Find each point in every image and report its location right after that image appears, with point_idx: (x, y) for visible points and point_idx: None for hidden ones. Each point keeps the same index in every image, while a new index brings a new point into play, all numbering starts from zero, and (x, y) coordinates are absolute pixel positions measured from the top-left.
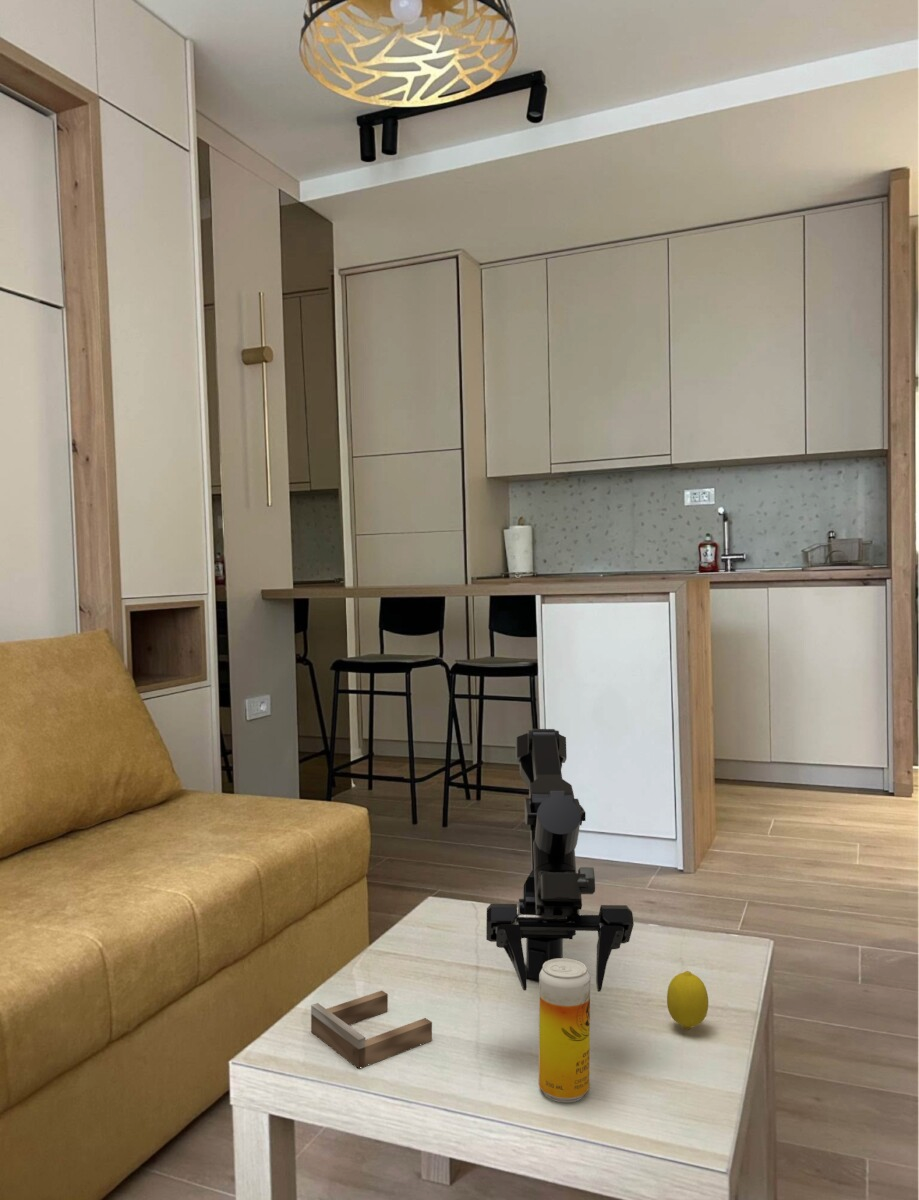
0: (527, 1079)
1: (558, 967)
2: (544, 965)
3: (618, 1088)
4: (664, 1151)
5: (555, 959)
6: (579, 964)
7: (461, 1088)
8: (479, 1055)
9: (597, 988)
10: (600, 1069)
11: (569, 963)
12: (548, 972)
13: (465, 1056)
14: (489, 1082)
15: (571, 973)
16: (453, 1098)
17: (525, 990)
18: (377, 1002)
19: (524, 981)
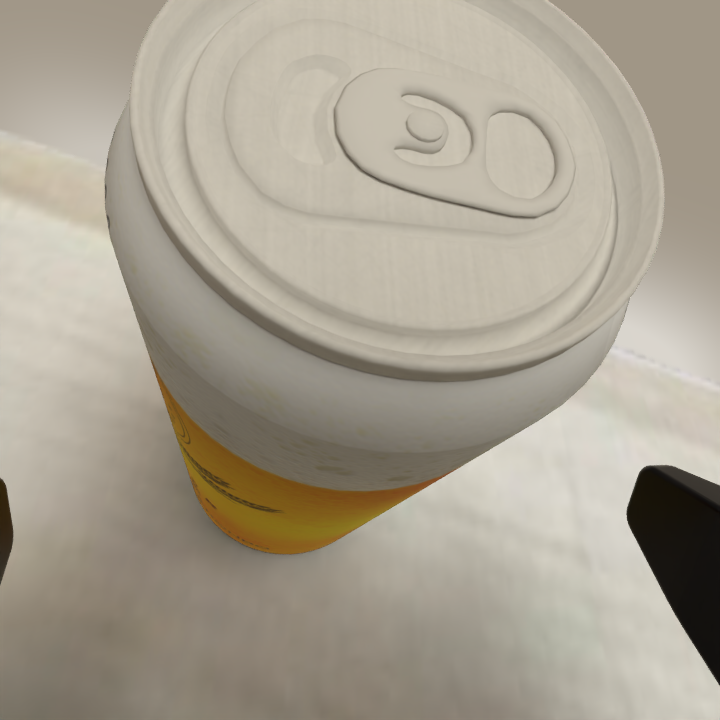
0: (418, 530)
1: (485, 149)
2: (642, 209)
3: (63, 487)
4: (14, 154)
5: (541, 350)
6: (206, 248)
7: (622, 459)
8: (615, 705)
9: (4, 536)
10: (106, 639)
11: (346, 271)
12: (578, 31)
13: (663, 689)
14: (545, 501)
15: (338, 30)
16: (631, 403)
17: (631, 509)
18: None
19: (689, 483)
